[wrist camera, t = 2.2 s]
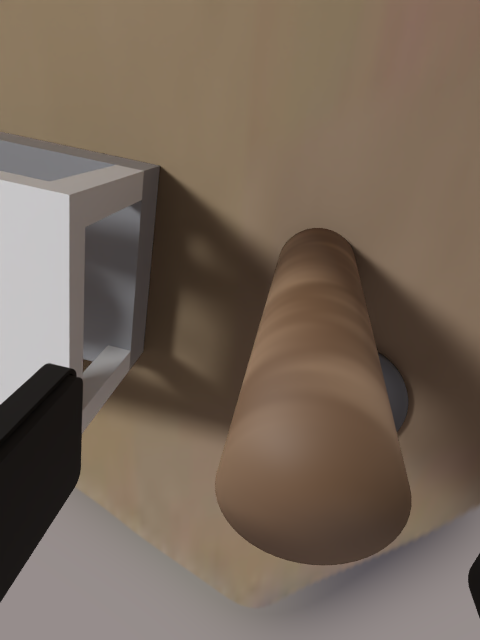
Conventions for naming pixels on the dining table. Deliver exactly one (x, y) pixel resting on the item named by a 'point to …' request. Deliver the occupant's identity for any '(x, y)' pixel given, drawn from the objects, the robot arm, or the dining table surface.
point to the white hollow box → (73, 263)
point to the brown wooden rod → (314, 419)
